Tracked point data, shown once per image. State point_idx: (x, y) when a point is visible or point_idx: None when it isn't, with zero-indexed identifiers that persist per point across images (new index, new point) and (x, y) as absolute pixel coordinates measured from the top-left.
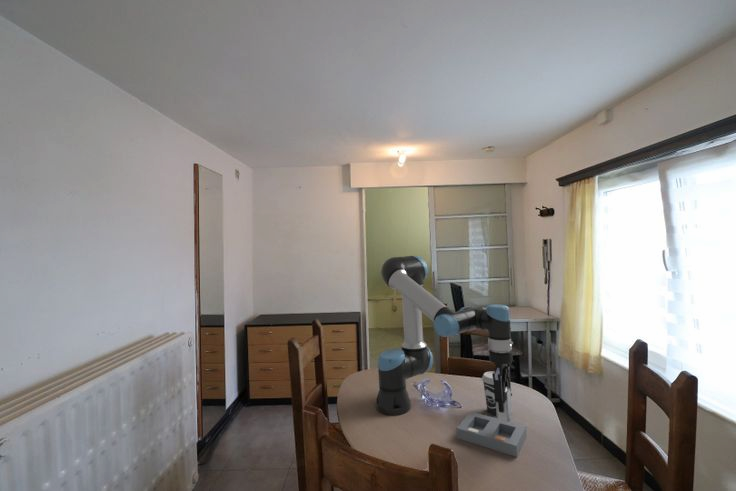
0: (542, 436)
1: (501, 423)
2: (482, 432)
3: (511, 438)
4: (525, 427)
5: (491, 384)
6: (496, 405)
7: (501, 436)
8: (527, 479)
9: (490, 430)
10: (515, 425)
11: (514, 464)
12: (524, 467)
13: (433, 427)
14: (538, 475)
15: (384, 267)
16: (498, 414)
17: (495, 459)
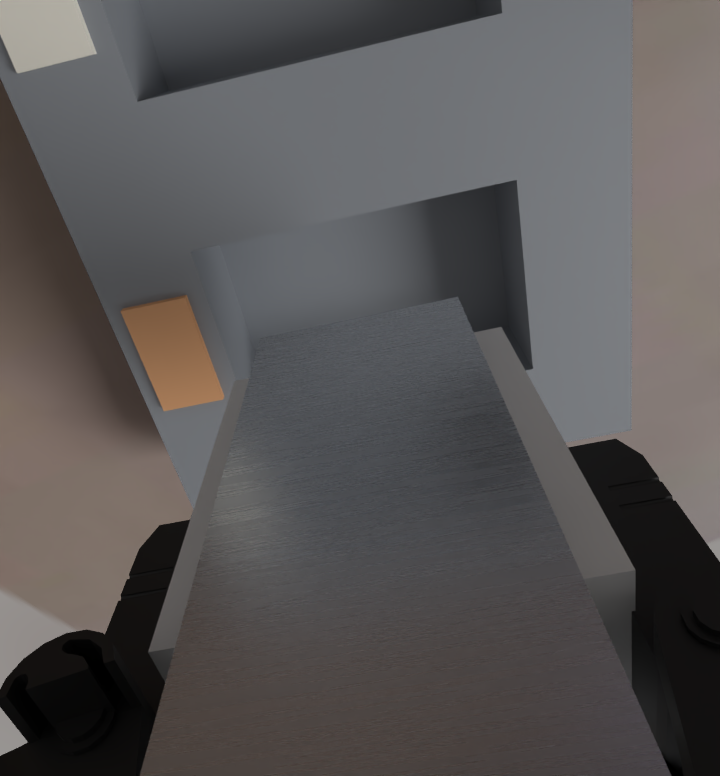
0: (665, 461)
1: (521, 200)
2: (106, 124)
3: None
4: (595, 436)
5: None
6: (220, 497)
7: (393, 223)
8: (46, 576)
9: (241, 182)
10: (574, 349)
11: (111, 468)
12: (143, 523)
13: None
14: None
15: None
16: (222, 439)
17: (28, 343)
